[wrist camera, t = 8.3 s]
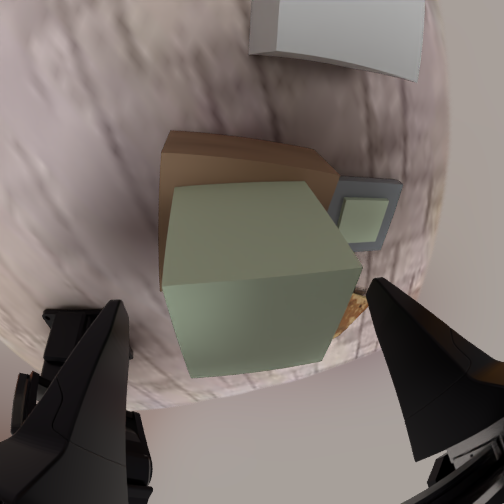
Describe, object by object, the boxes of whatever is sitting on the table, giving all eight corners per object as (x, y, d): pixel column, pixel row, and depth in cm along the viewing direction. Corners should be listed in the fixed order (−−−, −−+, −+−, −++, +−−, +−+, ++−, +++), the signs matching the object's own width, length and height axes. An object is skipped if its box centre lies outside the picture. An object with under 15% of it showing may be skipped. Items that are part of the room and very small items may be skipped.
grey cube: (350, 68, 11) (417, 82, 7) (248, 54, 10) (276, 51, 6) (357, -16, 7) (424, -32, 4) (253, -38, 7) (284, -82, 3)
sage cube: (304, 181, 11) (362, 267, 7) (290, 273, 14) (321, 361, 10) (174, 187, 10) (161, 286, 6) (188, 282, 13) (190, 378, 9)
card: (376, 244, 18) (382, 252, 17) (311, 248, 17) (316, 258, 17) (397, 180, 15) (406, 186, 14) (326, 175, 14) (333, 182, 13)
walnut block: (278, 253, 18) (293, 294, 15) (164, 247, 16) (160, 291, 13) (311, 147, 13) (340, 175, 11) (171, 128, 12) (161, 152, 9)
